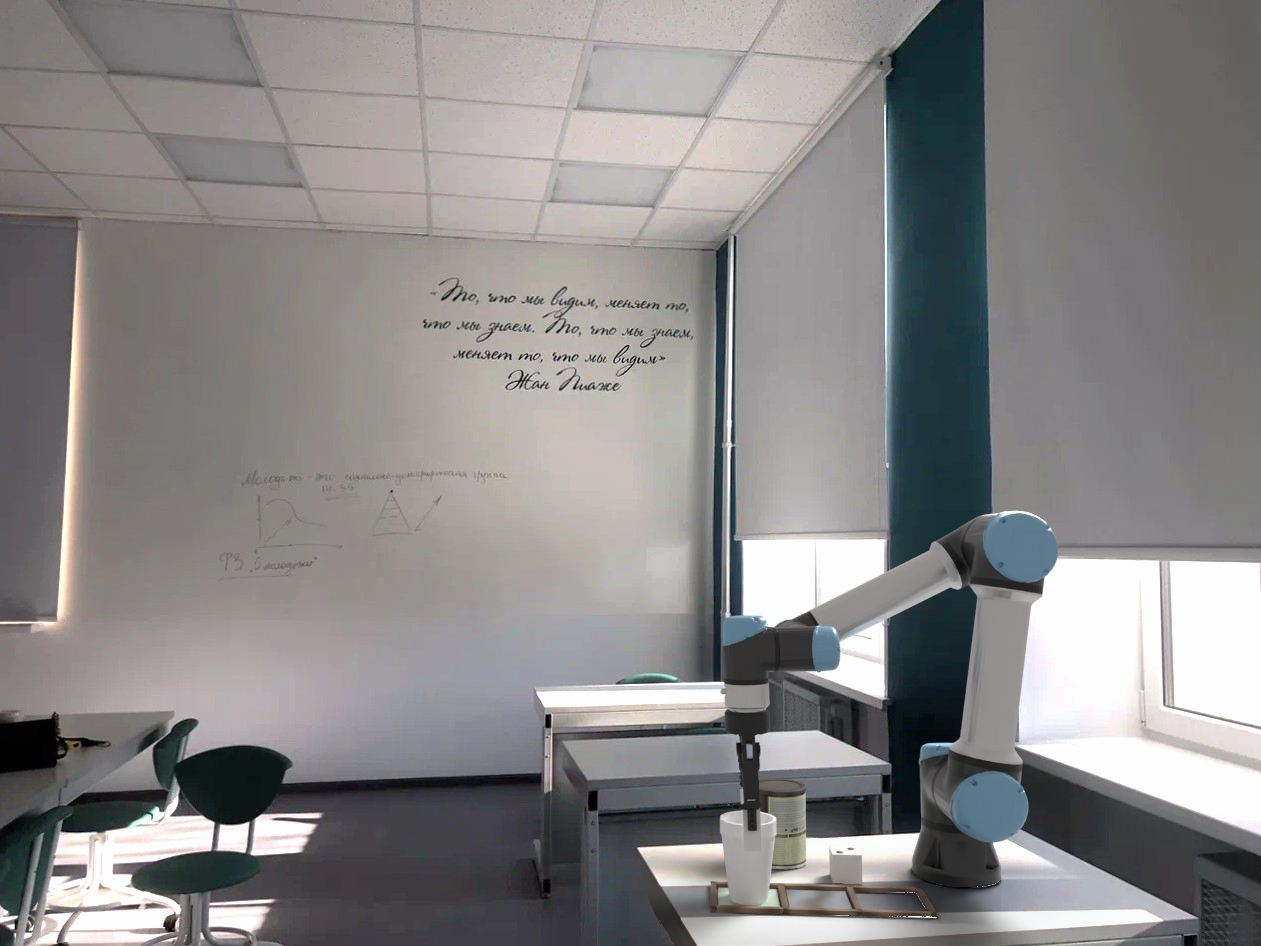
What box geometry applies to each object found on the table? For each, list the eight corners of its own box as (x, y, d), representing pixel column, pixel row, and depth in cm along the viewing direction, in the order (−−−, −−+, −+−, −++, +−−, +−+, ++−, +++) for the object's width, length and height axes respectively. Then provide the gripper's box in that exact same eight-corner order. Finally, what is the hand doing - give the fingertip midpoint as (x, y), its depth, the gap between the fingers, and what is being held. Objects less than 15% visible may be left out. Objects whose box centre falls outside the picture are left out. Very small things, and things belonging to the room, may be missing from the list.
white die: (858, 875, 176) (857, 846, 176) (862, 885, 171) (861, 854, 171) (829, 874, 176) (829, 845, 177) (833, 884, 171) (832, 854, 172)
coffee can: (742, 864, 182) (741, 786, 183) (764, 850, 190) (763, 776, 192) (795, 874, 176) (794, 793, 178) (815, 858, 185) (814, 782, 186)
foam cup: (713, 904, 160) (713, 822, 161) (727, 886, 169) (727, 808, 170) (771, 911, 157) (770, 827, 158) (782, 893, 166) (782, 813, 167)
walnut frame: (920, 892, 167) (920, 887, 167) (937, 919, 155) (937, 913, 155) (710, 886, 170) (710, 881, 170) (710, 912, 157) (710, 906, 157)
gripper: (723, 698, 178) (727, 818, 177) (725, 721, 154) (729, 861, 152) (765, 697, 178) (769, 818, 176) (774, 720, 153) (778, 861, 151)
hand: (751, 838), depth 164 cm, fingers open, 13 cm apart
